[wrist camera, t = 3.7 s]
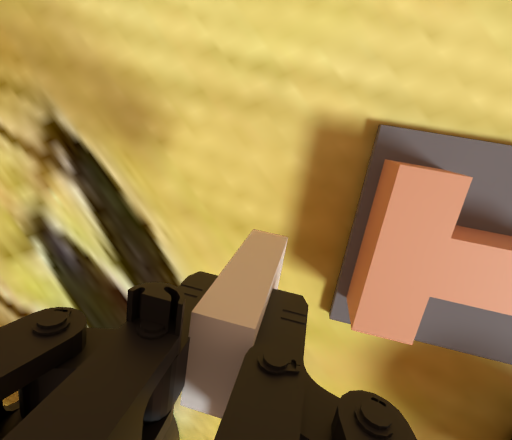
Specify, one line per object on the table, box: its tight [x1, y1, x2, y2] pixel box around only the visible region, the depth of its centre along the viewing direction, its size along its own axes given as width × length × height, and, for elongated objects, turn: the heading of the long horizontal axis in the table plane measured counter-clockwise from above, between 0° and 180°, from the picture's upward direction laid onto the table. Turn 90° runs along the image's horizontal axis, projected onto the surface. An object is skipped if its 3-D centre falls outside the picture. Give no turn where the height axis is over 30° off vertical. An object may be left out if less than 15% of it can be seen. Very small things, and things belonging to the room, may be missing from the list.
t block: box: [346, 159, 512, 345], centre depth 19 cm, size 10×10×4 cm
